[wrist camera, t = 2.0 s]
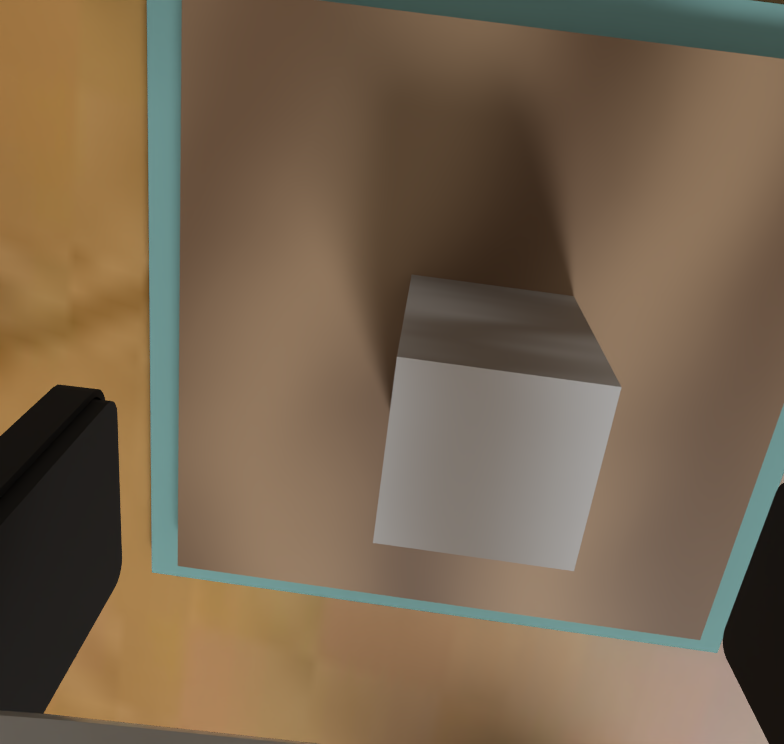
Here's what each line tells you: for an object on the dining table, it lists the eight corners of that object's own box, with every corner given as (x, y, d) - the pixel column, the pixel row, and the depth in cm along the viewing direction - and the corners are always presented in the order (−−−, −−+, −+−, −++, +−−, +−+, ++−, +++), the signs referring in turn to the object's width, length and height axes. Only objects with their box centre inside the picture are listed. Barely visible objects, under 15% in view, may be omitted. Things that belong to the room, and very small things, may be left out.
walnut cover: (879, 72, 15) (1111, 80, 10) (690, 619, 21) (775, 815, 15) (194, -14, 15) (60, -53, 10) (186, 547, 21) (96, 715, 16)
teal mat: (933, 26, 15) (948, 24, 15) (711, 640, 21) (717, 653, 21) (155, -71, 16) (146, -76, 15) (158, 561, 22) (152, 572, 21)
